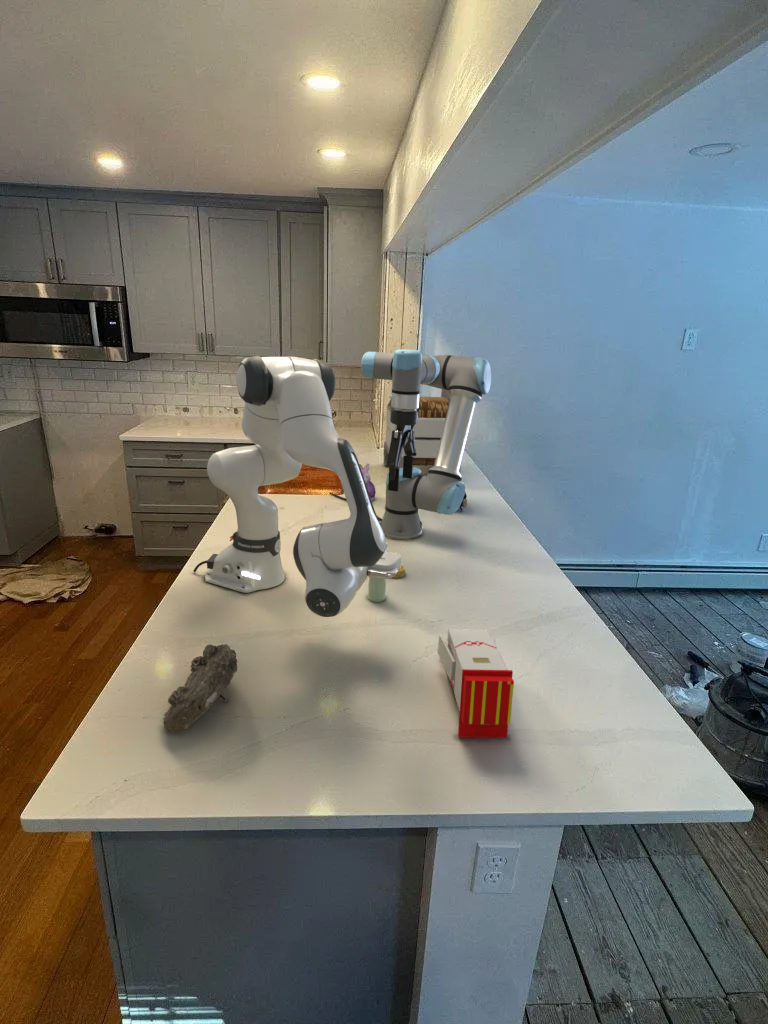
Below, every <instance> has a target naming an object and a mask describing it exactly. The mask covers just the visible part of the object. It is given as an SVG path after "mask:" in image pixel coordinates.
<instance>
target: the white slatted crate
mask: <svg viewBox="0 0 768 1024" xmlns="http://www.w3.org/2000/svg"><path fill="white" fill-rule="evenodd" d="M447 392H448V390H445V389H441V392H440V393H441V394H440V396H419V408H418V409H416V410H417V411H418V423H417V424H416V425H415V426H414V434H415V446H416V451H415V452H416V453H417V454H416V456H413V467H417V466H418V467H433V466H434V464H435V460H436V456H437V452H438V448H439V444H440V439H441V435H442V431H443V427H444V423H445V419H446V415H447V411H448V407H449V403H450V397H449V395H448V393H447ZM391 400H392V399H390V400H389V402H388V404H387V405H386V413H385V414H386V415H385V423H386V428H385V438H384V442H383V466H384V467H386V464H387V459H388V454H389V449H390V443H391V437H392V430H396V427H397V426H396V424H392V423H391V422H390V415H391V409H393V408H392V407H391ZM404 456H406V455H405V452H404V448H403V451H402V455H401V458H400V462H399V467H398V468H403V459H404ZM462 461H463V460H462ZM462 461H461V463H462ZM393 463H394V462H393ZM461 472H462V464H461V465H460V469H459V473H460V475H462V474H461Z"/></svg>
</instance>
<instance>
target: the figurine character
mask: <svg viewBox="0 0 768 1024" xmlns="http://www.w3.org/2000/svg"><path fill="white" fill-rule="evenodd" d="M467 495H468V494H467V493H466V491H465V494H464V498H463V500H462V503H461V505H460V507H459V508H458V510H460V512H463V509H464V508H465V509H466V508H467V506H468V499H467V497H468V496H467Z"/></svg>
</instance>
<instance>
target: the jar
mask: <svg viewBox="0 0 768 1024" xmlns="http://www.w3.org/2000/svg"><path fill="white" fill-rule="evenodd" d="M385 540H386V541H387V537H385ZM386 547H387V548H388V543H386ZM386 584H387V579H382V578H376V577H369V576H368V589H367V590H368V591H367V592H368V594H367V599H368V600H369V601H370V602H377V603H381V602H383V601H384V600H385V599H386Z"/></svg>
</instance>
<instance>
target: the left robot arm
mask: <svg viewBox="0 0 768 1024" xmlns="http://www.w3.org/2000/svg"><path fill="white" fill-rule="evenodd" d="M235 377H236V378H235V382H236V388H237V391H238V395H239V397H240V399H242V400H243V401H244V408H243V414H242V418H241V419H242V420H241V428H242V433H243V434H244V435H245V437H246V438H247V439H248V440H249V441H251V443H254V444H253V445H244V446H236V447H229V448H226V449H222V450H219V451H217V452H213V453H212V454H211V455H210V457H209V459H208V461H207V465H206V473H207V477H208V479H209V481H210V482H211V484H212V485H213V486H214V487H215V488H216V489H218V490H220V491H222V492H223V493H224V494H225V495H226V496H227V497H229V499H230V500H231V502H232V504H233V506H234V509H235V515H236V524H237V530H236V531H235V532H233V533H232V534H231V536H229V542H232V543H231V544H230V545H228V546H227V547H226V548H224V549H223V550H221V551H220V552H219V553H213V554H211V555H210V557H209V558H208V559H207V560H204V561H203V560H202V561H201V562H199V563H198V564H196V565H195V568H194V569H193V570H192V571H193V573H196V572H197V571H198V569H199V567H201V566H202V565H206V569H208V571H207V572H206V573H205V575H204V581H205V582H206V583H209V584H213V585H216V586H220V587H222V588H227V589H230V590H233V591H237V592H240V593H244V594H248V593H252V592H255V591H260V590H267V589H272V588H274V587H277V586H280V585H281V584H282V583H283V582H284V581H285V580H286V574H285V571H284V568H283V564H282V559H281V545H282V544H281V543H282V541H281V532H280V530H279V508H278V506H277V504H276V503H275V502H274V501H273V500H271V498H268V497H266V496H262V495H260V494H259V487H264V486H270V485H277V484H283V483H285V482H288V481H291V480H294V479H295V478H297V477H298V476H299V475H300V473H301V471H302V466H303V465H304V466H308V467H312V468H319V469H322V470H323V469H325V470H329V471H332V472H333V473H334V474H336V475H337V477H338V478H339V481H340V484H341V488H342V490H343V494H344V498H346V500H347V501H346V500H345V501H346V503H347V506H348V510H349V513H350V514H349V517H348V518H343V519H339V520H334V521H330V522H322V523H317V524H312V525H307V526H303V527H302V528H301V529H300V530H299V532H298V534H297V535H296V538H295V541H294V543H293V547H292V549H293V550H292V555H293V559H294V563H295V567H296V568H297V570H298V572H299V573H300V575H301V577H302V578H303V579H304V580H305V591H304V602H305V604H306V606H307V608H308V610H309V611H311V612H312V613H313V614H315V615H316V616H319V617H321V618H333V617H336V616H338V615H340V614H342V613H343V612H344V611H345V610H346V609H347V608H348V606H350V604H352V601H353V600H354V599H355V597H356V595H357V592H359V591H360V589H361V588H362V587H363V585H364V583H365V582H366V580H367V579H368V578H369V577H376V578H382V579H386V580H387V579H388V580H389V579H391V578H393V576H395V575H396V573H397V572H398V571H399V569H400V567H401V566H402V556H401V555H400V553H398V552H392V551H388V546H387V547H386V544H387V539H386V540H385V538H386V537H385V535H384V532H383V529H382V527H381V524H380V523H381V521H380V520H379V519H378V517H379V516H378V515H377V513H376V510H375V508H374V504H373V501H371V498H370V495H369V492H368V489H367V486H366V483H365V480H364V477H363V473H362V470H361V468H360V465H359V464H360V462H359V459H358V457H357V455H356V452H355V450H354V448H353V446H352V445H351V443H350V442H349V441H348V440H347V439H344V438H341V437H340V436H339V434H338V432H337V430H336V428H335V424H334V420H333V413H332V407H331V403H330V401H331V400H332V398H333V397H334V394H335V391H336V375H335V372H334V370H333V368H332V366H331V364H330V363H328V362H326V361H324V360H320V359H316V358H313V359H309V358H305V357H299V356H298V357H297V356H290V355H289V356H288V355H287V356H262V357H261V356H260V355H254V356H248V357H244V358H243V359H242V361H241V362H240V363H239V364H238V368H237V372H236V376H235ZM377 516H378V517H377Z"/></svg>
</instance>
